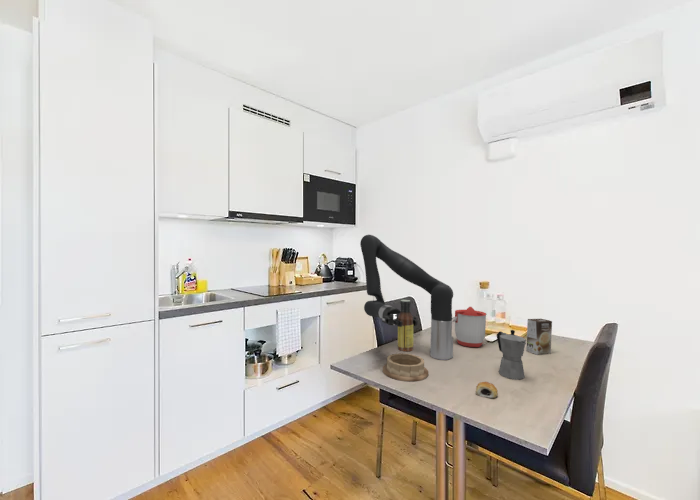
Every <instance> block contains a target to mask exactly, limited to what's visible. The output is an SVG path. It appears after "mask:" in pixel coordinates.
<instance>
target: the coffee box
mask: <svg viewBox="0 0 700 500" xmlns="http://www.w3.org/2000/svg"><path fill="white" fill-rule="evenodd" d="M526 327H527V328H526V346H525V349H526V350H525V351H526V352H528V351H529V352H528V353H531V354H533V353H534V355H537V356H538V354H540V355H548V354H547V353H551V354H552V331H553V330H552V329H553V328H552V327H553V321H552V320H550V319H549V320H548V319H546V318H545V319H543V318H527V325H526Z"/></svg>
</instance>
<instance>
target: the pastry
mask: <svg viewBox="0 0 700 500" xmlns="http://www.w3.org/2000/svg"><path fill="white" fill-rule="evenodd" d="M475 394H476V395H477V396H479V397H481V398H483V397H484V398H488V399H496V398H497V397H498V388H497V387H496V386H495V384H493V383H491V382H489V381H482V382H481V381H480V382H479V383H478V384H477V385H476V388H475Z"/></svg>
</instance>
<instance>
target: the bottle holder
mask: <svg viewBox="0 0 700 500" xmlns="http://www.w3.org/2000/svg"><path fill="white" fill-rule="evenodd" d="M382 373H383V374H384V375H385V376H386V377H388V378H390V379H394V380H397V381H401V382H420V381H423V380H426V379H427V378H428V377H429V369H428V368H427V367H425V360H424V358H422V357H420V356H418V355H417V354H412V353H411V354H410V353H402V352H401V353H392V354H389V355H388V356H387V358H386V363H385V364H384V365H383V366H382Z"/></svg>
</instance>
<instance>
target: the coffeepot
mask: <svg viewBox="0 0 700 500" xmlns="http://www.w3.org/2000/svg"><path fill="white" fill-rule="evenodd" d="M509 331H510V334H509V333H508V334H507V333H506V332H503V331H498V332H497V333H496V340H497V345H498V349H499V351H500V352H501V353H502V356H501V359H500V363H499V368H498V373H499V375H501V377H503V378H506V379H509V380H515V381H517V380H518V381H520V380H523V379H525V378H526V375H525V371H524V365H523V364H524V362H523V360H522V357H523V356H524V351H525V349H526V345H527V338H526V339H525V338H524V337H523V336H520V335H517V334H515V333H516V330H514V329H510V330H509Z"/></svg>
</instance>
